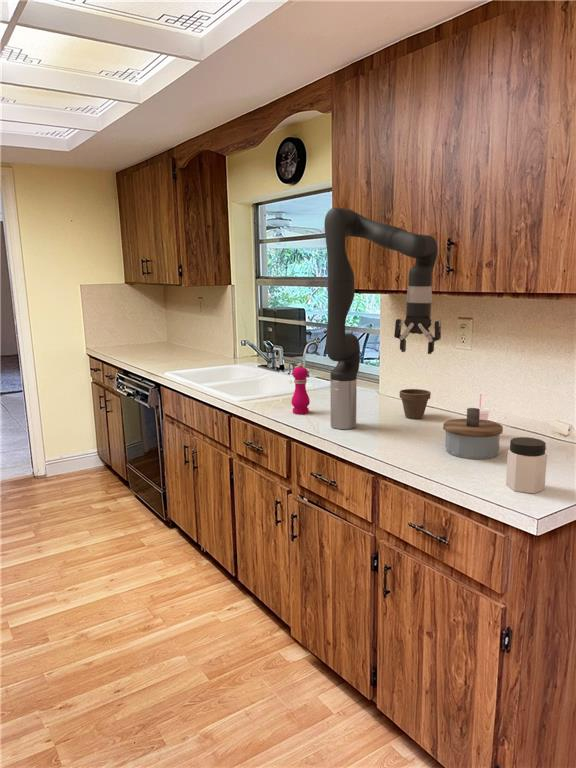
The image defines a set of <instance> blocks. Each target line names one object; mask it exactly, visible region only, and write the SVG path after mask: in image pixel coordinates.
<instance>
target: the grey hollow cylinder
mask: <svg viewBox="0 0 576 768" xmlns="http://www.w3.org/2000/svg"><path fill="white" fill-rule="evenodd" d="M500 436H501V434H500V435H497V436H491V437H468V436H461V435H456V434H452V433H449V432H447V431H445V440H444V441H445V442H444V443H445V444H444V445H445V446H444V447H445V451H446V452H448V453H447V454H449V455H451V456H453V457H456V458H459V459H465V458H466V459H467V460H468V459H469V460H488V459H494V458H496V457H497V456H499V451H500V438H501V437H500Z"/></svg>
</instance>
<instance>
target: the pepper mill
mask: <svg viewBox="0 0 576 768" xmlns="http://www.w3.org/2000/svg"><path fill="white" fill-rule="evenodd" d="M308 376H309V372H308V369H307V368H305V366H303V363H301V362H299V363H298V364H297V367H294V368H293V370H292V377H293V378H294V379H293V383H294V392H293V394H292V397H291V405H292V406H293V408H292V414H294V415H307V414H309V409H310V408H309V407H308V406H309V405H310V403H311V399H310V397H309V394H308V392H307V388H306V386H307V385H306V383H307V377H308Z"/></svg>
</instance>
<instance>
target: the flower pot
mask: <svg viewBox="0 0 576 768" xmlns="http://www.w3.org/2000/svg"><path fill="white" fill-rule="evenodd" d="M431 394H432V393H431V391H429V390H426V389H419V388H406V389H401V390H399V398H400V400H401V402H402V408H403V412H404V416H405V417H406V419H411V420H420V418H421V419H422V418H423V417H424V415H425V412H426V408H427V404H428V402H429V400H431Z"/></svg>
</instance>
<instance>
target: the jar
mask: <svg viewBox="0 0 576 768" xmlns="http://www.w3.org/2000/svg"><path fill="white" fill-rule="evenodd" d="M509 440H510V441H509V449H508V450H507V461H506V479H505V485H506V486H507V487H509V489H511V490H512V491H513V492H517V493H518V492H519V493H525V494H536V493H539V492H542V491H545V488H546V487H545V486H546V473H547V459H548V453H546V449H547V448H546V447H547V445H546V442H545V441H544V440H542V439H539V438H535V437H527V436H517V437H513V438H511V439H509Z"/></svg>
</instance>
